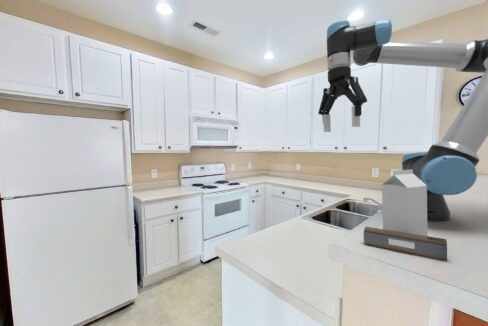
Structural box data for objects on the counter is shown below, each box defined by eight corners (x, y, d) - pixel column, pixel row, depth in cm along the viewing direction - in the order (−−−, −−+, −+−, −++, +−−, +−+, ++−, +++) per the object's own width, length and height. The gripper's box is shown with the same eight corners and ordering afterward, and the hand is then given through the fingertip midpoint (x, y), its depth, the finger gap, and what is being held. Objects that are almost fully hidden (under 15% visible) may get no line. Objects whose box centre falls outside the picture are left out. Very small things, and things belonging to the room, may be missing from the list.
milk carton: (428, 242, 57) (426, 170, 56) (408, 247, 55) (407, 171, 54) (400, 233, 64) (399, 169, 63) (382, 237, 61) (381, 170, 61)
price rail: (366, 241, 59) (366, 226, 59) (446, 256, 49) (446, 239, 49) (363, 244, 57) (363, 229, 57) (447, 262, 46) (447, 243, 46)
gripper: (308, 80, 88) (309, 133, 88) (360, 51, 64) (362, 123, 65) (323, 82, 90) (325, 133, 91) (379, 54, 67) (380, 124, 67)
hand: (340, 129), depth 78 cm, fingers open, 13 cm apart
